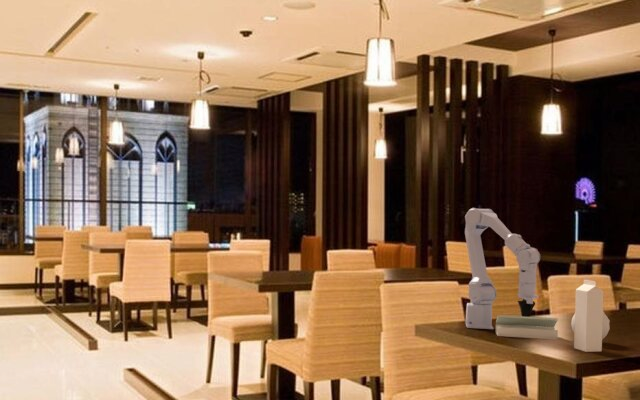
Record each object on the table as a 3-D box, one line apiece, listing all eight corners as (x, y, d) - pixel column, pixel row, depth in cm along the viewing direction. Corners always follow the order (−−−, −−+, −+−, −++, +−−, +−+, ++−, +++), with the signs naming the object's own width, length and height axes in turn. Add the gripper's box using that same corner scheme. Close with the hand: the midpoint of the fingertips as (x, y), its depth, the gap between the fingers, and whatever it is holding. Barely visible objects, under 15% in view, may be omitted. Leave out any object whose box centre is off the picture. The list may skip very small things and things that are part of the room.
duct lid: (498, 316, 251) (497, 315, 252) (495, 324, 257) (495, 322, 258) (557, 320, 249) (557, 318, 249) (554, 327, 255) (553, 325, 255)
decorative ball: (612, 346, 237) (613, 310, 237) (574, 344, 239) (575, 308, 239) (604, 340, 249) (605, 305, 249) (568, 338, 251) (569, 303, 251)
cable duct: (497, 335, 250) (497, 327, 250) (495, 332, 257) (495, 324, 257) (557, 339, 248) (557, 330, 248) (553, 336, 255) (554, 327, 255)
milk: (585, 352, 226) (587, 281, 226) (573, 348, 232) (575, 279, 232) (602, 351, 228) (604, 281, 228) (589, 347, 233) (591, 279, 234)
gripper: (542, 286, 246) (541, 325, 246) (535, 281, 261) (533, 318, 261) (521, 284, 247) (519, 324, 247) (515, 280, 261) (513, 317, 262)
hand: (525, 321), depth 254 cm, fingers closed, pressing on duct lid
